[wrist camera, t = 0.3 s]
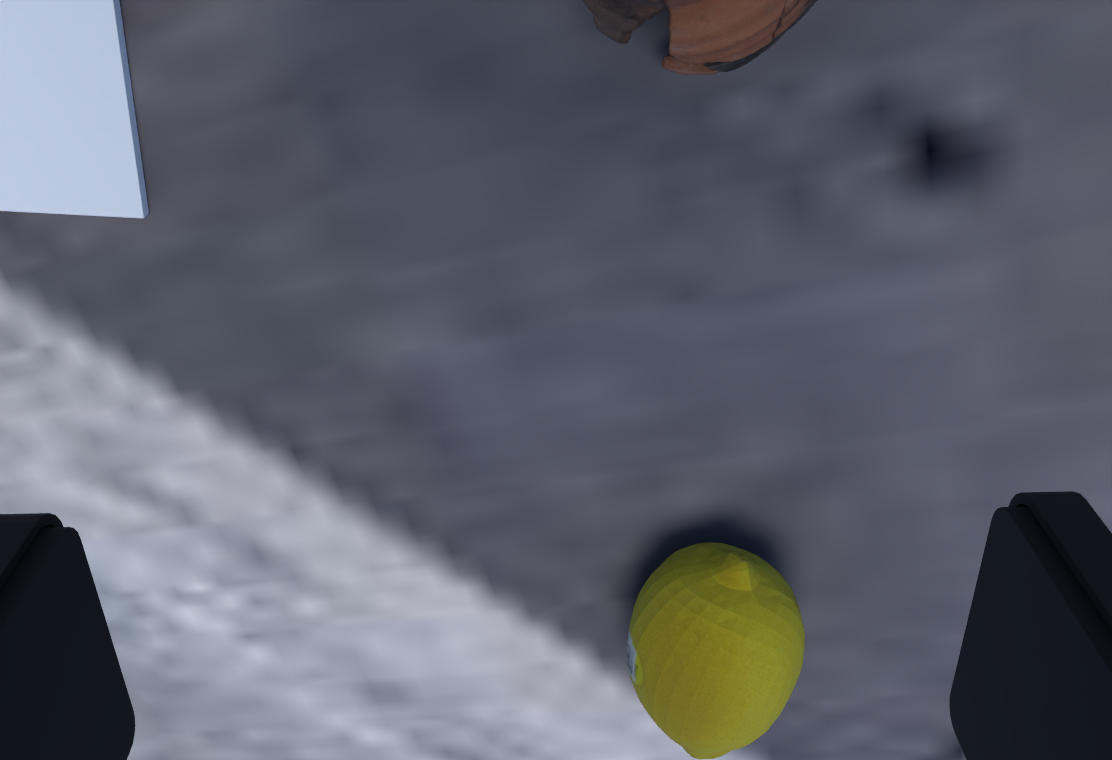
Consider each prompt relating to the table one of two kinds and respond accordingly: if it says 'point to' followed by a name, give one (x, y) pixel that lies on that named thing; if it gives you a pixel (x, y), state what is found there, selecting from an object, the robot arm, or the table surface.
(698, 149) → the table surface
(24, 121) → the flat white board
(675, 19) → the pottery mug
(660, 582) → the lemon
